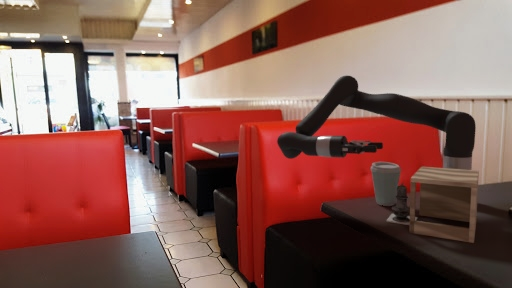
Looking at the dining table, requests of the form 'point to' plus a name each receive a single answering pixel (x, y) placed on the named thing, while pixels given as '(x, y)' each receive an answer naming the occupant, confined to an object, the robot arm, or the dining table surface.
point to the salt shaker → (401, 205)
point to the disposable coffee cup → (385, 182)
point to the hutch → (445, 202)
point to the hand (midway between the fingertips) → (379, 147)
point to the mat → (398, 222)
